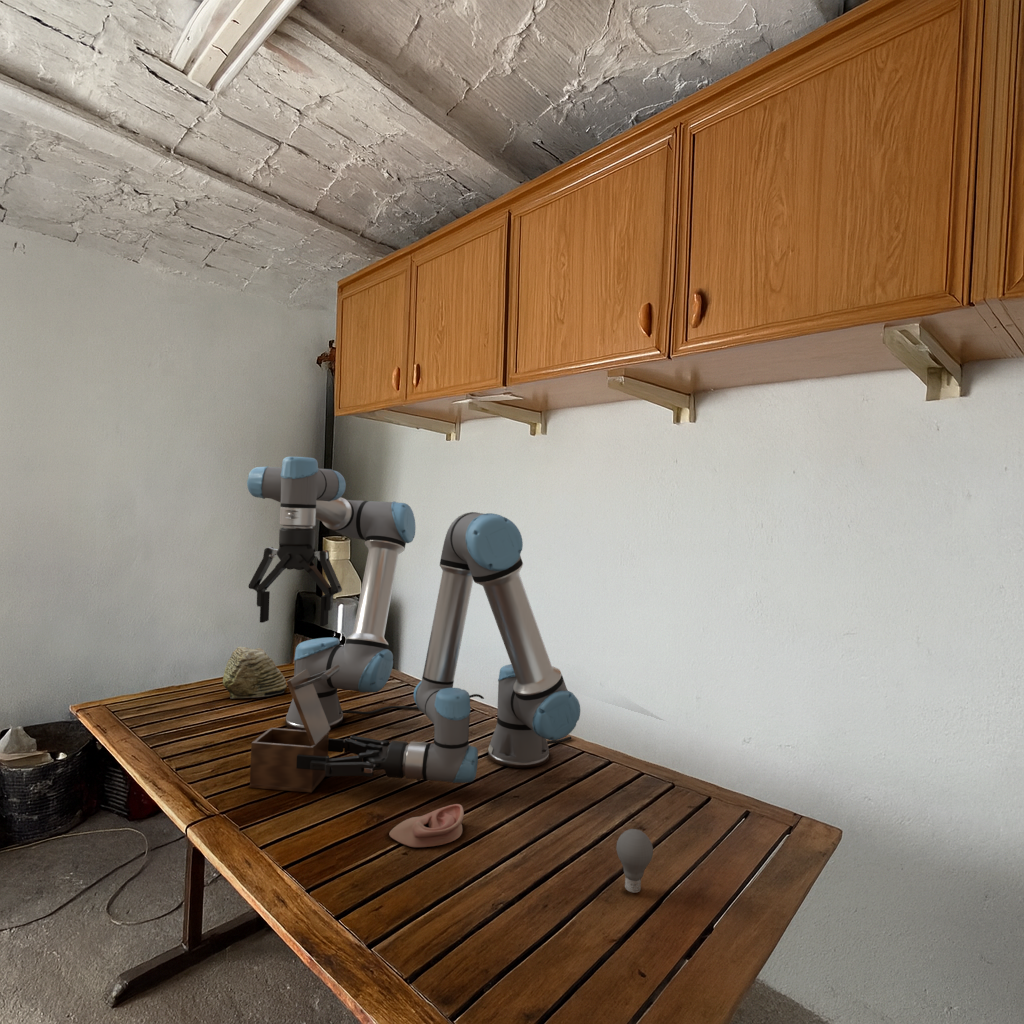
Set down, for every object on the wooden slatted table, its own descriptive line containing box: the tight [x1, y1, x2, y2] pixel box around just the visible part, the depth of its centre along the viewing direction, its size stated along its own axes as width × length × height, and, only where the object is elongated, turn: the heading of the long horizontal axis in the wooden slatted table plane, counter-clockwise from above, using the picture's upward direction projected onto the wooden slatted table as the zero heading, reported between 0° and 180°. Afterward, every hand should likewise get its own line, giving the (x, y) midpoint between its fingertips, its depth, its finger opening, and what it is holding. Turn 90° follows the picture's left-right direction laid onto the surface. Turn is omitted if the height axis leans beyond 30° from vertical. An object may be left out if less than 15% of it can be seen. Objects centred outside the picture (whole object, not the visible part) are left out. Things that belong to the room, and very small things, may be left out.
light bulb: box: [615, 828, 654, 894], centre depth 106 cm, size 6×6×10 cm
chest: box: [249, 727, 330, 794], centre depth 140 cm, size 14×9×10 cm, turn 86°
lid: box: [286, 665, 340, 746], centre depth 140 cm, size 15×9×9 cm
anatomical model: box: [388, 803, 465, 848], centre depth 121 cm, size 13×4×12 cm
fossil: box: [222, 646, 288, 699], centre depth 198 cm, size 9×18×15 cm, turn 132°
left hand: (294, 623), depth 140 cm, fingers open, 13 cm apart
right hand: (306, 752), depth 140 cm, fingers closed on chest, 9 cm apart
